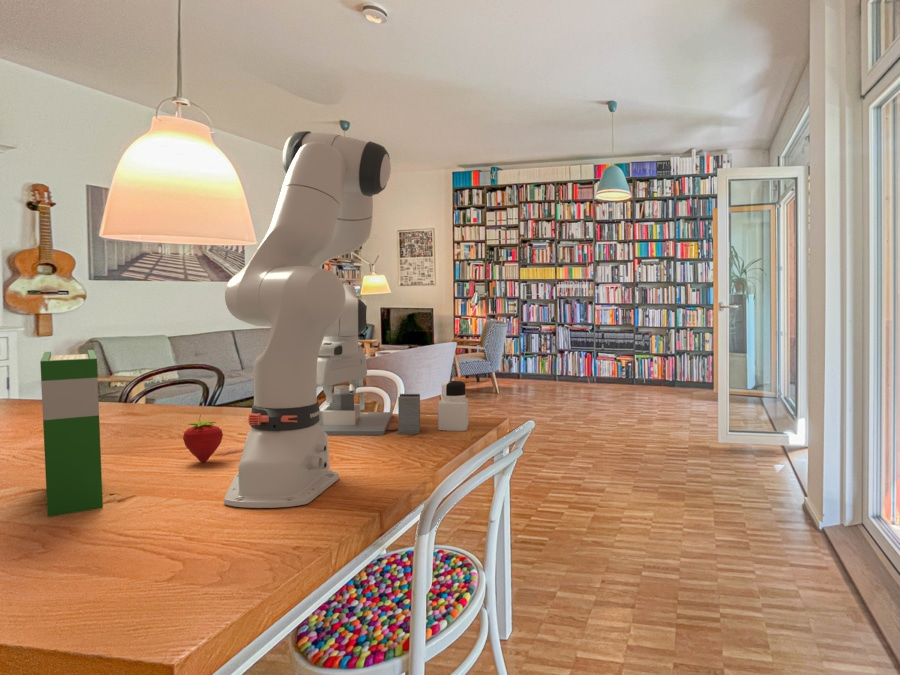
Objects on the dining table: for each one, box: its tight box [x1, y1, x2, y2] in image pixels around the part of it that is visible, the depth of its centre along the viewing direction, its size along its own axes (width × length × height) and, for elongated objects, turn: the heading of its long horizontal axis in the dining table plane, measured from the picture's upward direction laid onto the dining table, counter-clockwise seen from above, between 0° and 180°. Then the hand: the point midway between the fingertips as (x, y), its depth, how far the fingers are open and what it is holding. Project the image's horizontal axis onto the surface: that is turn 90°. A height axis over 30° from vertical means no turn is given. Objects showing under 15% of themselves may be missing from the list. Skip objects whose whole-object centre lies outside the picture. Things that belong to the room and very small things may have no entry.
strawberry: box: [182, 414, 224, 463], centre depth 125 cm, size 6×8×10 cm
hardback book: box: [39, 349, 104, 517], centre depth 103 cm, size 18×7×24 cm, turn 31°
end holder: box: [318, 403, 393, 436], centre depth 161 cm, size 24×24×4 cm
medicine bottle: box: [437, 380, 469, 432], centre depth 157 cm, size 7×7×12 cm
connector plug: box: [329, 384, 355, 411], centre depth 161 cm, size 4×4×9 cm
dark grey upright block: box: [397, 393, 421, 435], centre depth 153 cm, size 6×5×9 cm
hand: (341, 399), depth 161 cm, fingers open, 8 cm apart
